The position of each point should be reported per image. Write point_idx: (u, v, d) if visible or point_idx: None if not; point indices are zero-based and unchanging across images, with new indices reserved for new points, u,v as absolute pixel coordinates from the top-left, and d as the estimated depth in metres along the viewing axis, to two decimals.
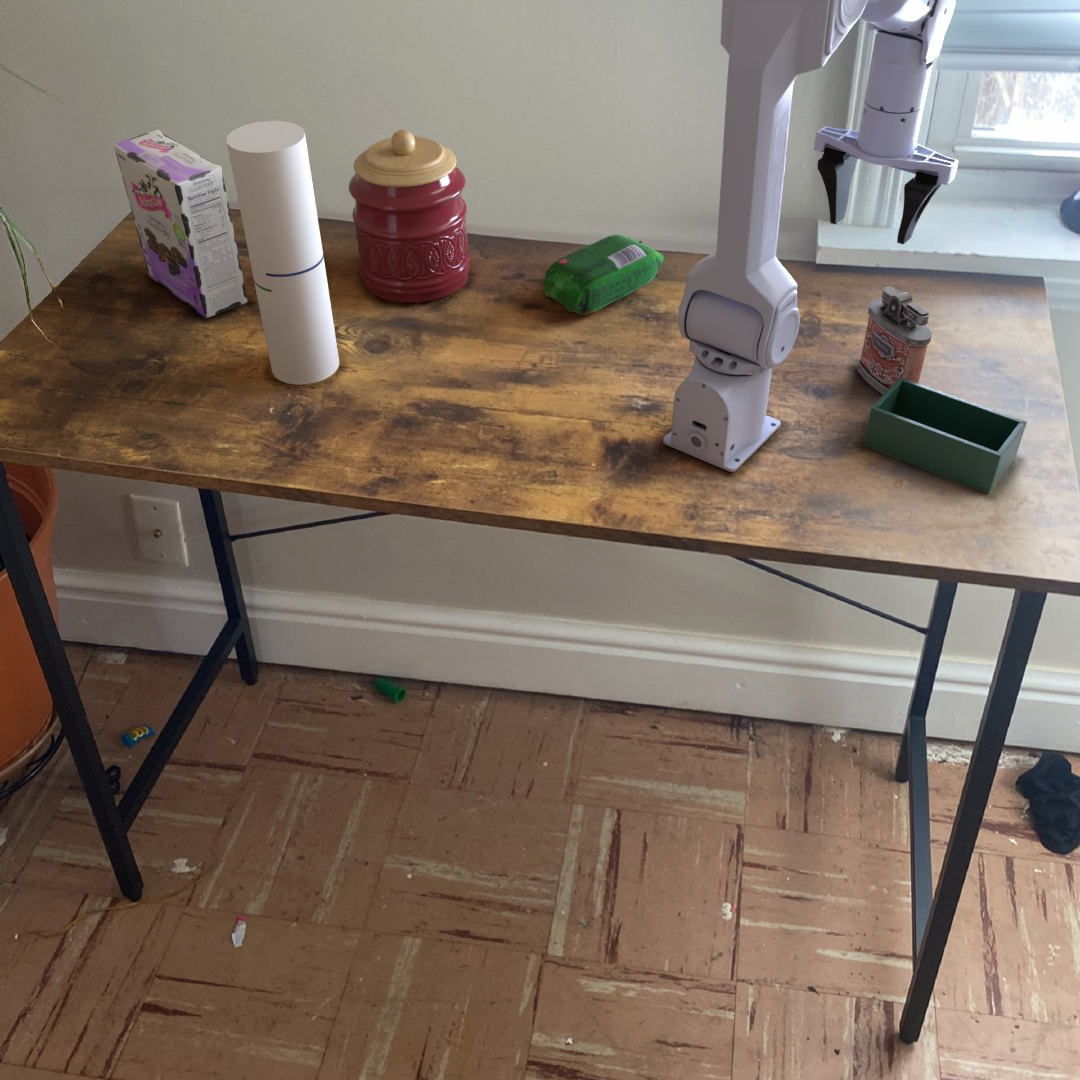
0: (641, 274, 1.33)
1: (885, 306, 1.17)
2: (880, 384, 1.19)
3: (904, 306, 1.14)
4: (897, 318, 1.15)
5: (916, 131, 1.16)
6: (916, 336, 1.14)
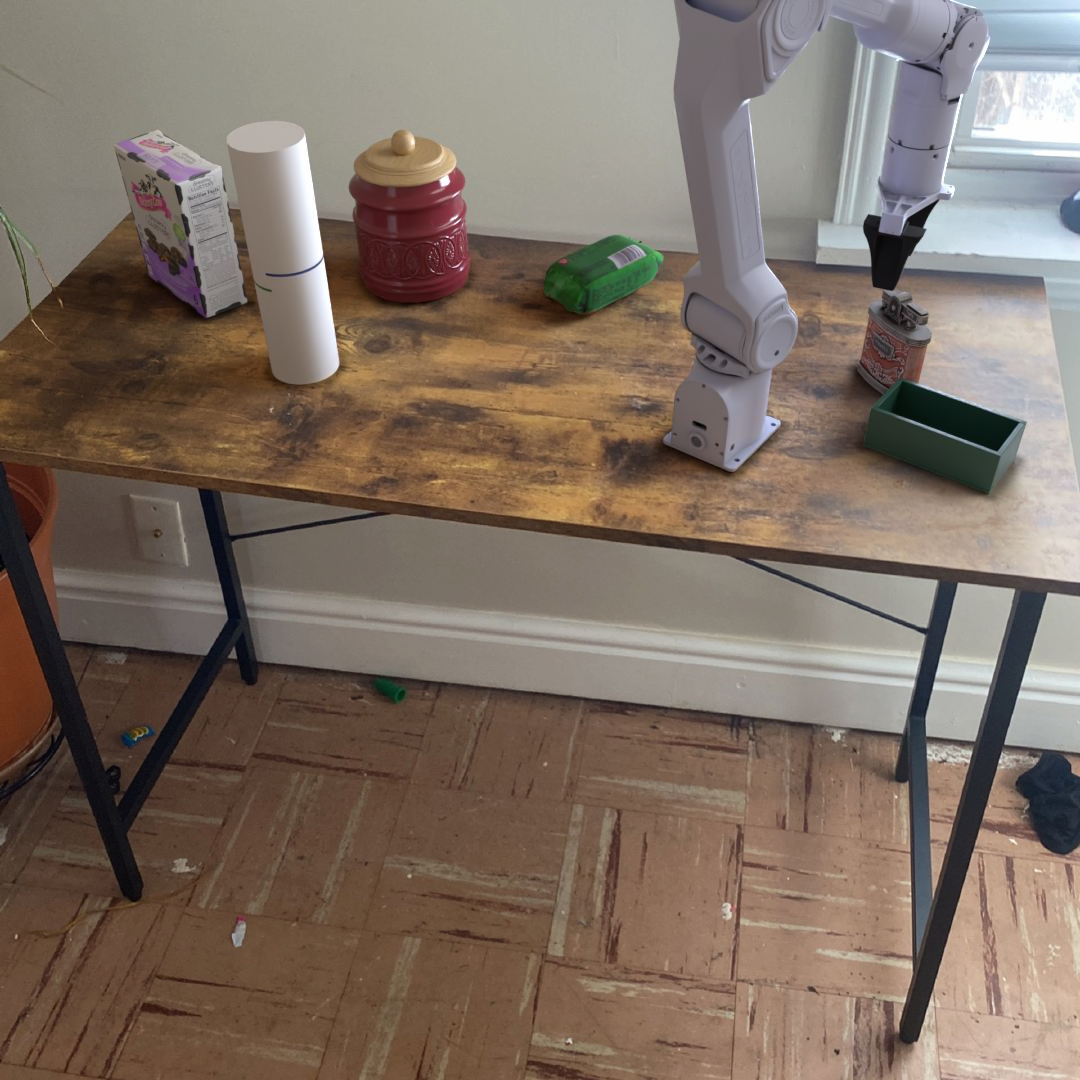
0: (641, 274, 1.33)
1: (885, 306, 1.17)
2: (880, 384, 1.19)
3: (904, 306, 1.14)
4: (897, 318, 1.15)
5: (908, 172, 1.08)
6: (916, 336, 1.14)
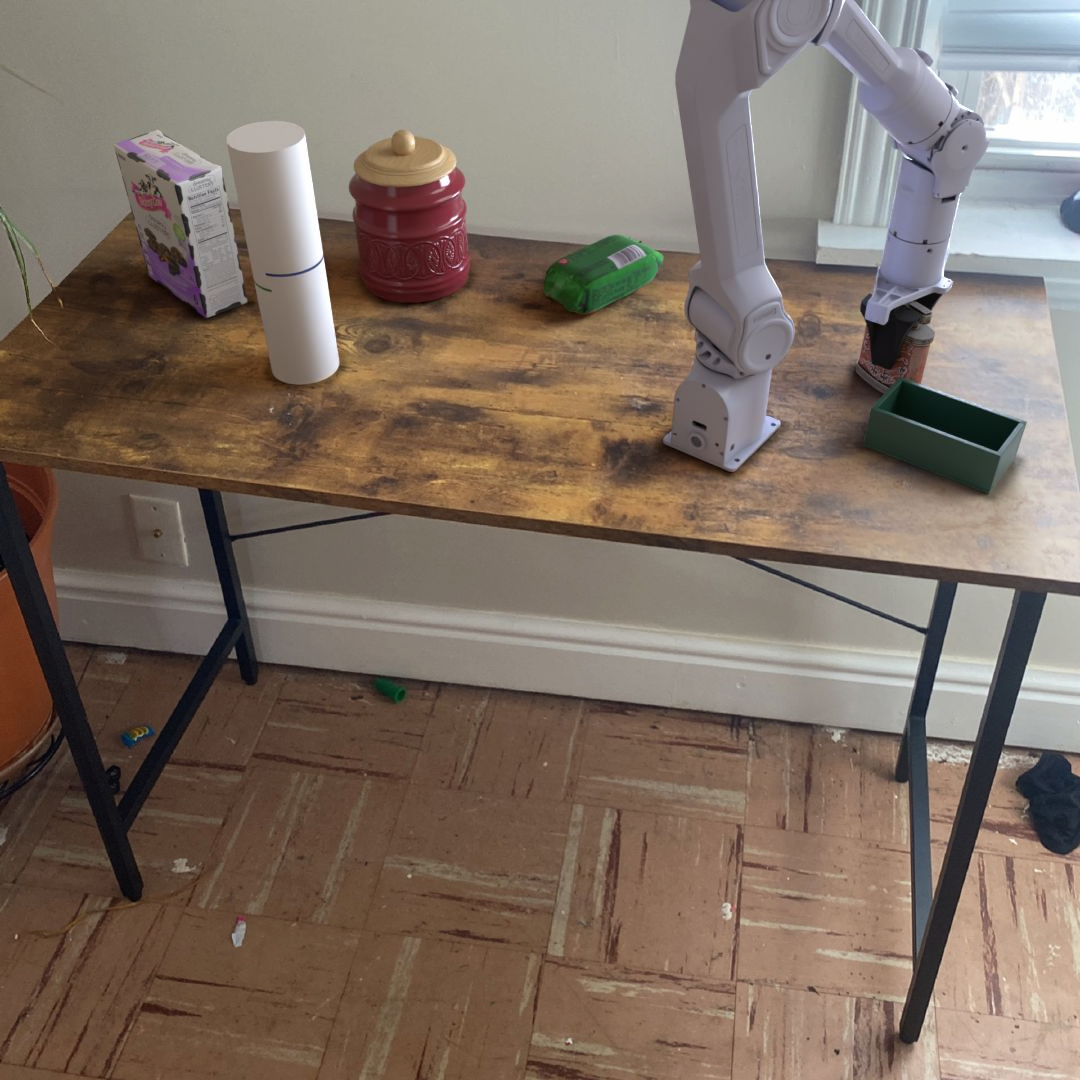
0: (641, 274, 1.33)
1: None
2: (882, 385, 1.19)
3: (906, 306, 1.14)
4: None
5: (901, 263, 1.09)
6: (920, 336, 1.14)
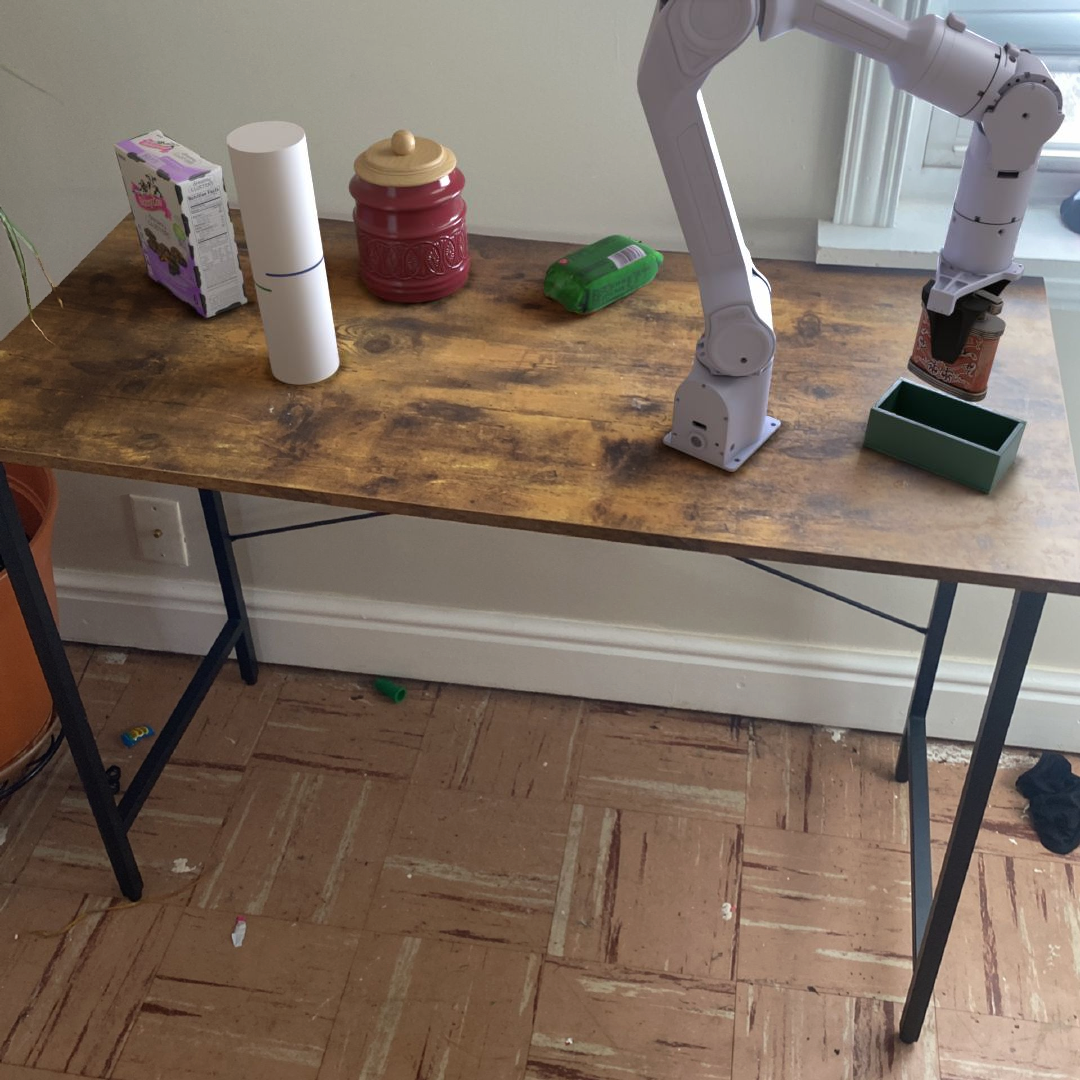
0: (641, 274, 1.33)
1: None
2: (945, 384, 1.07)
3: None
4: None
5: (968, 246, 0.97)
6: (991, 328, 1.02)
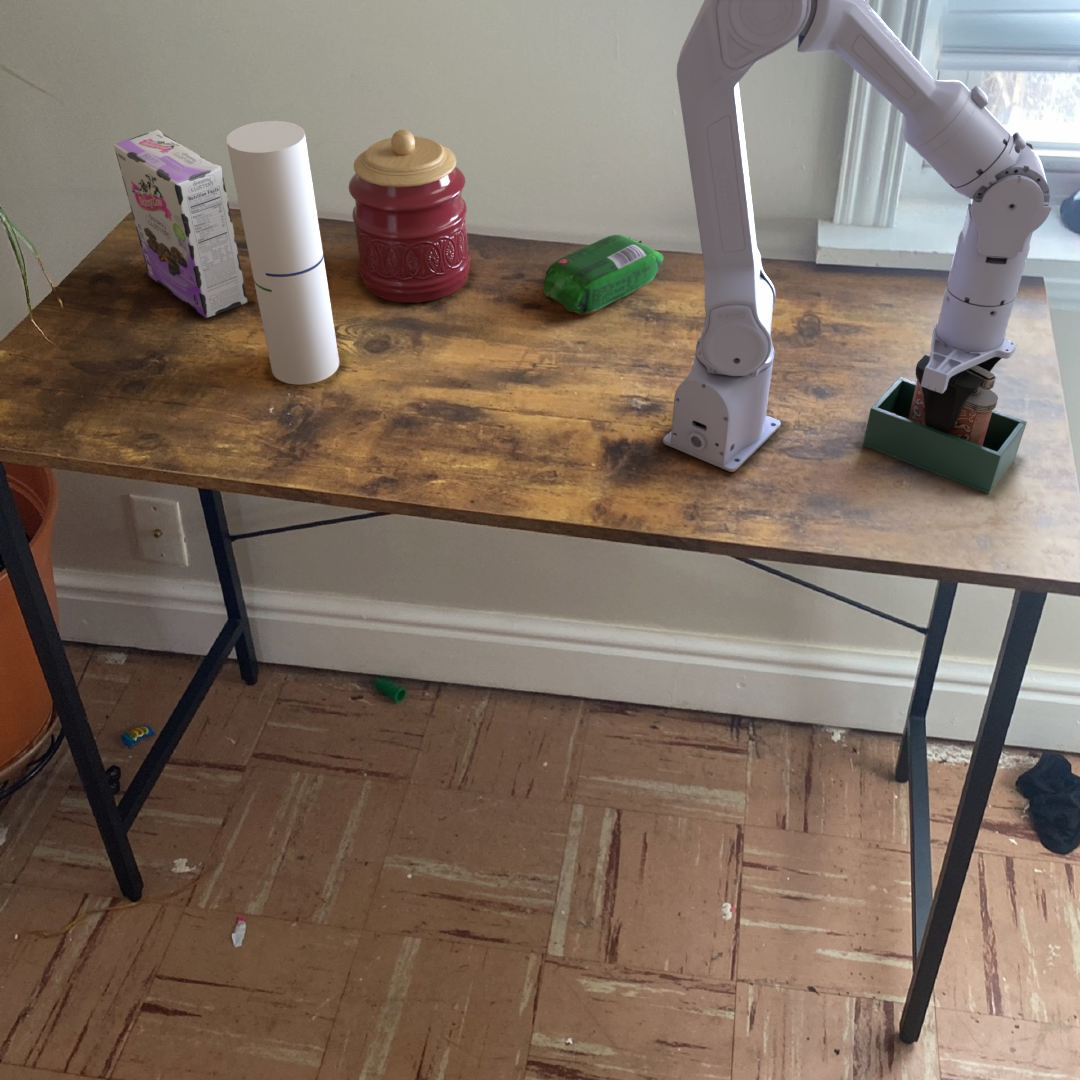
0: (641, 274, 1.33)
1: None
2: None
3: None
4: None
5: (961, 326, 1.00)
6: (983, 401, 1.05)
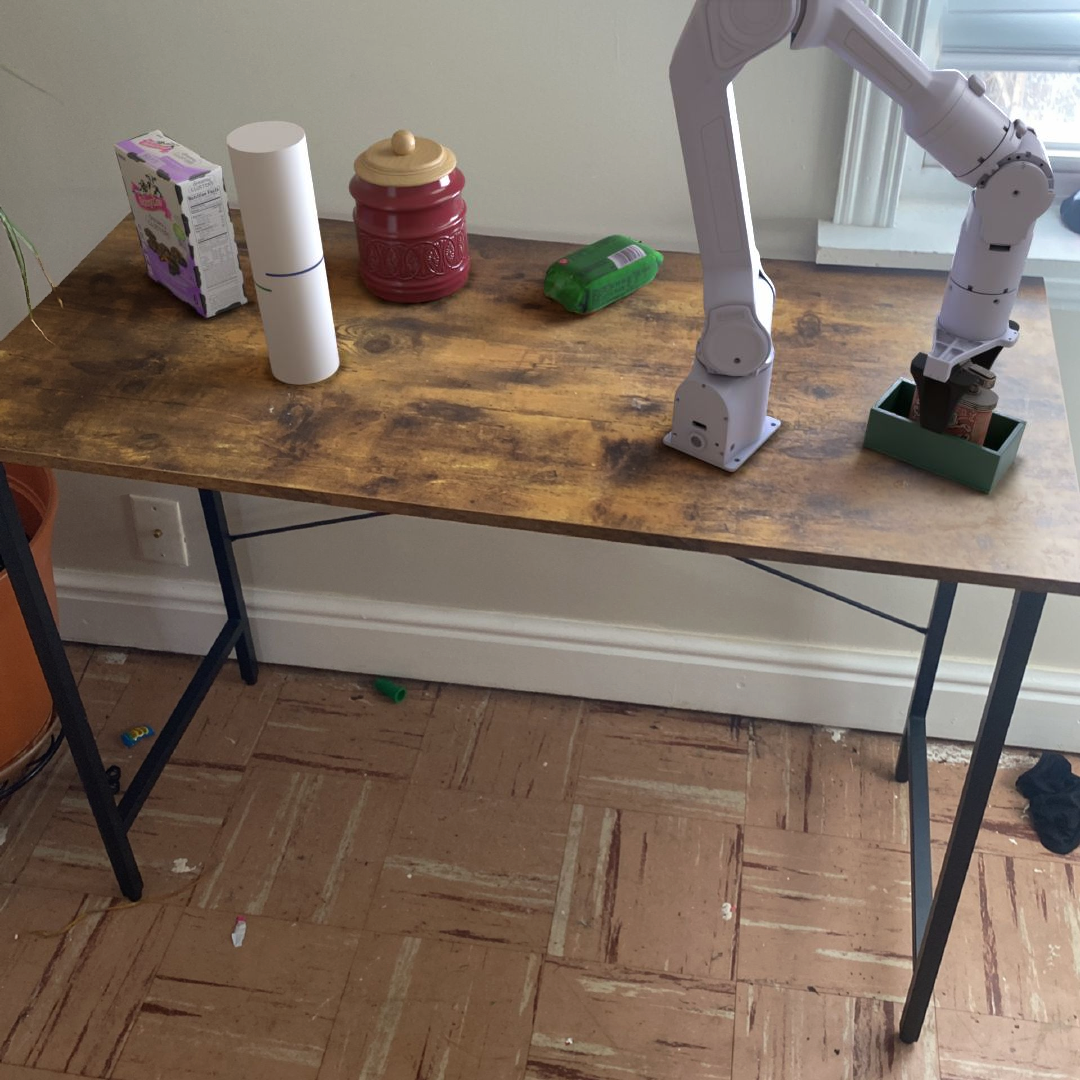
0: (641, 274, 1.33)
1: None
2: None
3: (966, 370, 1.05)
4: None
5: (964, 314, 1.00)
6: (984, 401, 1.05)
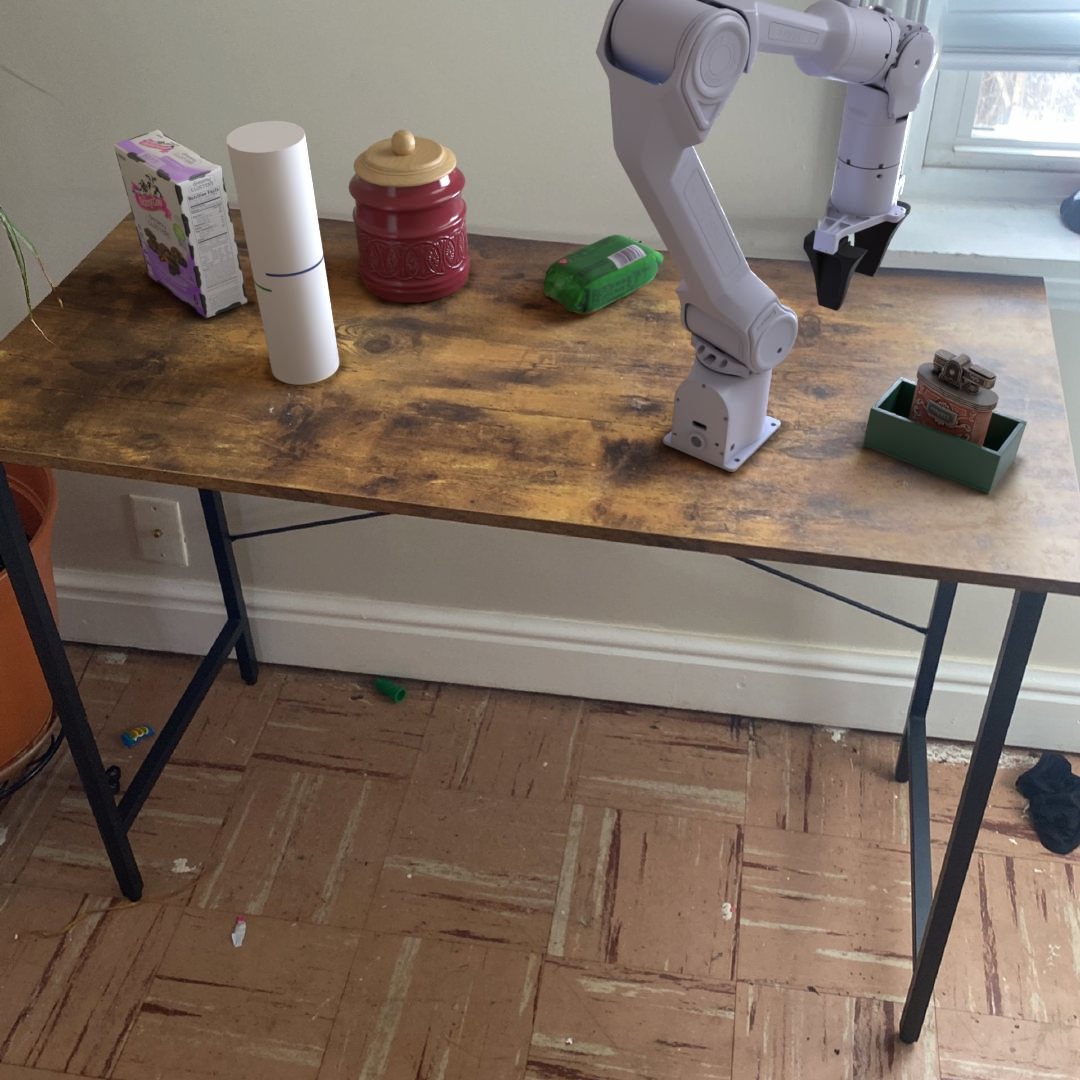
0: (641, 274, 1.33)
1: (938, 370, 1.08)
2: None
3: (966, 370, 1.05)
4: (957, 383, 1.06)
5: (851, 190, 1.05)
6: (984, 401, 1.05)
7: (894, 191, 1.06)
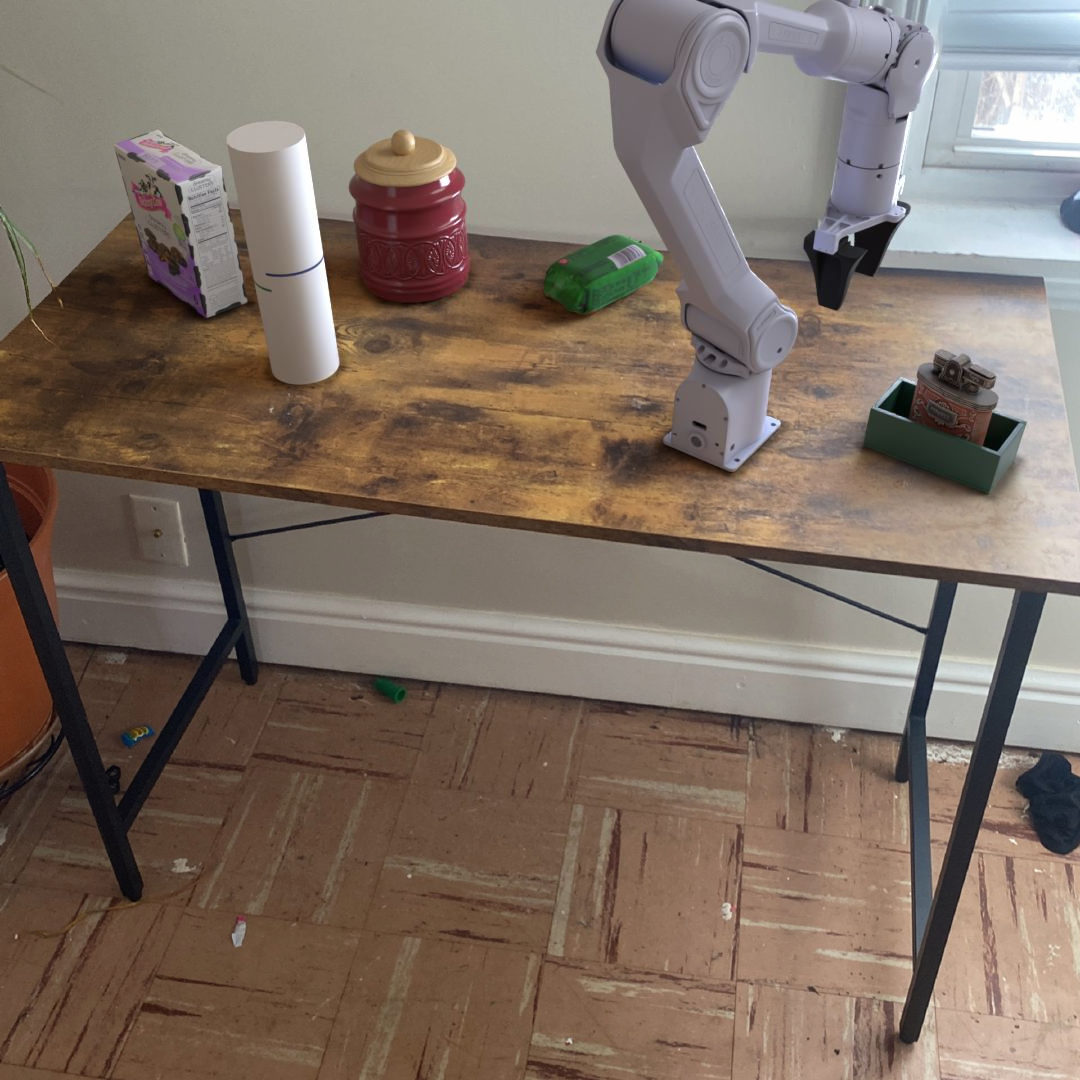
0: (641, 274, 1.33)
1: (938, 370, 1.08)
2: None
3: (966, 370, 1.05)
4: (957, 383, 1.06)
5: (851, 190, 1.05)
6: (984, 401, 1.05)
7: (894, 191, 1.06)
